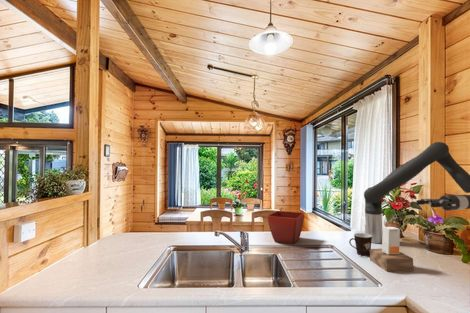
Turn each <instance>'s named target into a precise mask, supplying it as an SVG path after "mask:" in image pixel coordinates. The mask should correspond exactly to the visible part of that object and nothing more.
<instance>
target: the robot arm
mask: <svg viewBox="0 0 470 313" xmlns="http://www.w3.org/2000/svg"><path fill="white" fill-rule="evenodd" d="M449 148H450V147H449V146H448V145H447V144H446V142H441V141H436V142H433V143H431V144H429V146H427V147H426V148H425V149H424V150H423V151H422V152H420V153H419V154H418V155H416V156H415V157H413V158H411V159H409V160H408V161H406V162H405V163H403V164H401V165H400V166H398V167H397V168H396V169H394V170H393V171H392V172H390V173H389V174H388V175H387V176H385V178H383V180H381V181H379V182H378V183H377V184H375V185H373V186H370V187H368V188H367V189H366V190H364V192H363V197H364V198H363V199H364V204H365V205H364V218H365V224H364V233H365V234H369V235H372V241H371V244H382V237H383V210H382V209H383V204H382V200H383V198H384V197H385V196H386V195H387V194H389V193H390V192H392V191H393V190H395V189H398V188H400V187H402V186H403V185H405V184H406V183H408V182H409V181H411V180H413V179H414V178H415V177H417V176H418V175H419V174H420V173H421V172H422V171H423V170H425V168H427V167H428V166H430V165H432V164H433V163H435V162H437V163H438V164H439V165H440V166H441V167H442V168H443V169H444V170H445V171H446V172H447V173H448V175H449V176H450V177H451V179H452V180H453V181H454V182H455V183H456V184H457V185H458V187H459V188H460V189H461V190H462V191H463V192H464V193H466V194H444V195H441V196H440V198H421V199H416V205H417V206H421V205H423V206H425V205H426V206H427V205H428V206H429V207H431V208H441V209H443V210H444V211H461V210H470V173H469V172H468V171H467V170H466V169H464V168H463V167H462V166H461V165H459V163H458V162H457V161H456V160H455V159H454V158H453V157H452V155H451V153H450V149H449Z"/></svg>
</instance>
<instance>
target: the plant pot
mask: <svg viewBox="0 0 470 313" xmlns="http://www.w3.org/2000/svg"><path fill="white" fill-rule="evenodd" d="M266 218H267V223H268V227H269V230H270V234H271V237H272V238H273V241H274V242H276V243H282V244H291V245H294V244H295V243H296V242H297V241H299V239H300V238H301V237H300V236H301V235H302V230H303V225H304V219H305V212H299V211H287V210H286V211H285V210H276V211H274V212H272V213H269V214H267V216H266Z"/></svg>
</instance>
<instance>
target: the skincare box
mask: <svg viewBox="0 0 470 313" xmlns="http://www.w3.org/2000/svg"><path fill="white" fill-rule="evenodd" d="M382 228H383V237H382V243H381V245H382V246H381V249H382V252H384V253H386V254H388V255H389V254H399V251H400V245H401V244H400V240H401V238H400V237H401V229H400V228H397V227H395V226H382Z"/></svg>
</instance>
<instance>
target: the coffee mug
mask: <svg viewBox="0 0 470 313" xmlns="http://www.w3.org/2000/svg"><path fill="white" fill-rule="evenodd" d="M353 236H354V237H353V238H350V239H349V241H348V244H349V245H350V246H351V247H352V248H354V249H355V250H356V254H357V255H358V256H361V257H362V256H363V257H370V249H372V243H371V241H372V235H369V234H365V232H364V233H363V232H357V233H354V234H353ZM353 240H354V242H355V246H354V245H353V244H352V242H351V241H353Z"/></svg>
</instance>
